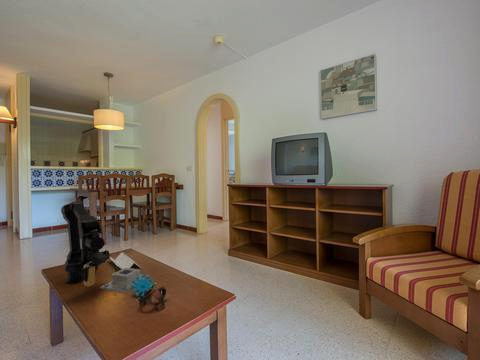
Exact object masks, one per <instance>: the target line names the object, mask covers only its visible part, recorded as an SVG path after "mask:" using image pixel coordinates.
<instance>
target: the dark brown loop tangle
mask: <svg viewBox="0 0 480 360" xmlns="http://www.w3.org/2000/svg"><path fill="white" fill-rule="evenodd" d="M166 295H167V289H166V287H165V286H161V287H159V288H158V289H156V288H155V287H154V288H151V289H148V291H145V292H144V297H143V295H142V296H141V295H140V297H138V300H137V301H138V302H139V303H138V306H140V307H141V306H142V307H143V308H144V307H145V305H146V304H147V303H150V304H151V303H152V302H153V300H152V297H153V299H155V300H158V301H159V303H158V304H157V306H156V308H157V309H158V311H159V312H160V311H162V309H163V308H165V305H166V303H165V297H166Z"/></svg>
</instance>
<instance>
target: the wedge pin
mask: <svg viewBox="0 0 480 360" xmlns="http://www.w3.org/2000/svg"><path fill="white" fill-rule="evenodd" d="M87 267H90V268H89V270H88V280H87V282H85V281H84V280H83V286H86V287H91V286H93V285H95V284H96V274H95V266H89V265H87Z"/></svg>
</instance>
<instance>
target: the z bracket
mask: <svg viewBox="0 0 480 360" xmlns="http://www.w3.org/2000/svg"><path fill="white" fill-rule="evenodd" d="M109 260H111V261H112V262H113V264H115V265H116V267H118V268H119V269H120V270H122V269H124V268H131V269H132V267H133V266H134V265H136V266H137V267H139V268H140V269H142V267H141V266H140V265H139V264H138V263H136V262H135V261H134V260H133V259H132V258H130V257H129V255H127V254H125V253H124V252H122V251H121V252H120V253H119V255H118V256H117V257H116V258H115V259H114V258H113V257H111V256H110V259H109Z"/></svg>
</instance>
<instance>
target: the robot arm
mask: <svg viewBox="0 0 480 360" xmlns="http://www.w3.org/2000/svg"><path fill="white" fill-rule="evenodd" d="M60 212H61V213H60V214H61V215H62V218H63V219H64V221H66V222H67V230H68V243H69V245H68V246H69V252H68V253H67V255H66V259H65V261H64V264H63V270H64V272H66V273H67V280H65V281H64V283H69V284H74V285H75V284H77V283H79V282H81V281H83V282H84V281H85V282H87V280H88V270H89V268H90V267H87V266H95V275H96V273H97V270H98V268H99V266H100V265H102V264H104V263H105V264H106V262H107V260H111V259H110V257H111V255H110V251H109V250H104V251H100V250H102V249H103V248H104V246H105V240H104V238H102V237H100V236H101V235H102V232H103V229H102V227H101V223H100V222H99V220H98V219H97V218H96V216H94V215H90V214H89V212H88V210H87V209H86V208H85V206H84V202H83V201H71V202H70V203H67V204H64V205H63V206H62V207H61V208H60ZM100 234H101V235H100ZM80 236H81V239H80Z"/></svg>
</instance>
